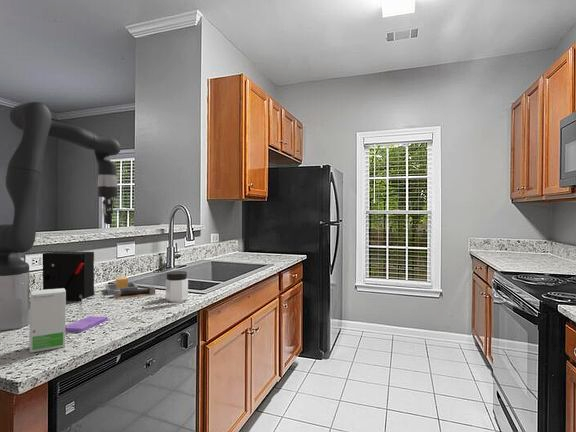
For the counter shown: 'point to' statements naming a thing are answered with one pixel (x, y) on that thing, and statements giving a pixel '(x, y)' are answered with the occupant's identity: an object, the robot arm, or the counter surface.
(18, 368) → the counter surface
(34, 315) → the skincare box
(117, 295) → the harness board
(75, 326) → the sponges
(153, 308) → the counter surface
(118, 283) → the orange block
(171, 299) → the jar
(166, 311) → the counter surface
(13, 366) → the counter surface
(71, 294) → the electrical component
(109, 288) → the tray
